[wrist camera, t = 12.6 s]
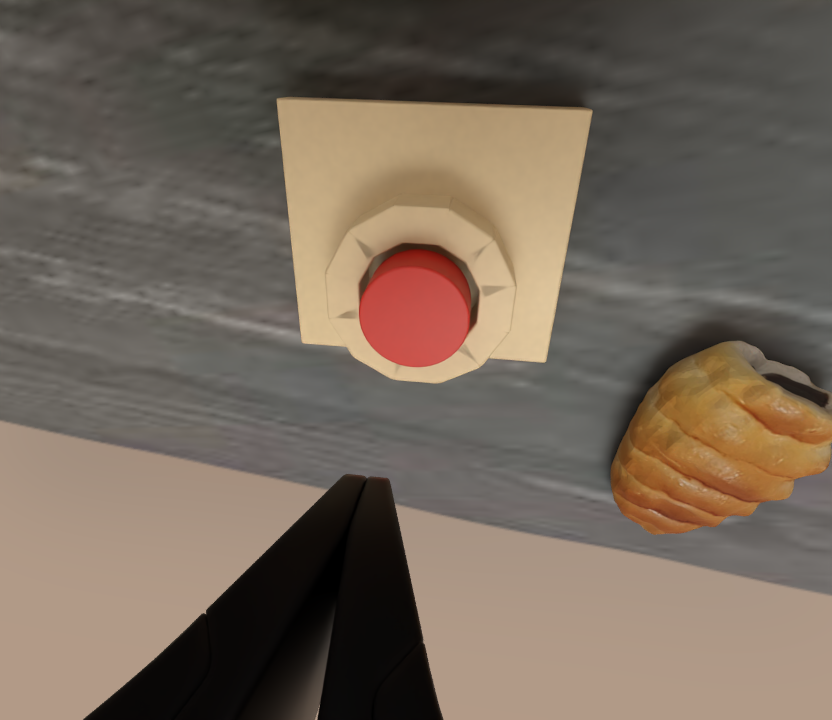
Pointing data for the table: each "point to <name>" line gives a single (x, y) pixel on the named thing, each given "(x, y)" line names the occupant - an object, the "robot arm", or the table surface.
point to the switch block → (432, 214)
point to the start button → (416, 308)
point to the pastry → (720, 440)
